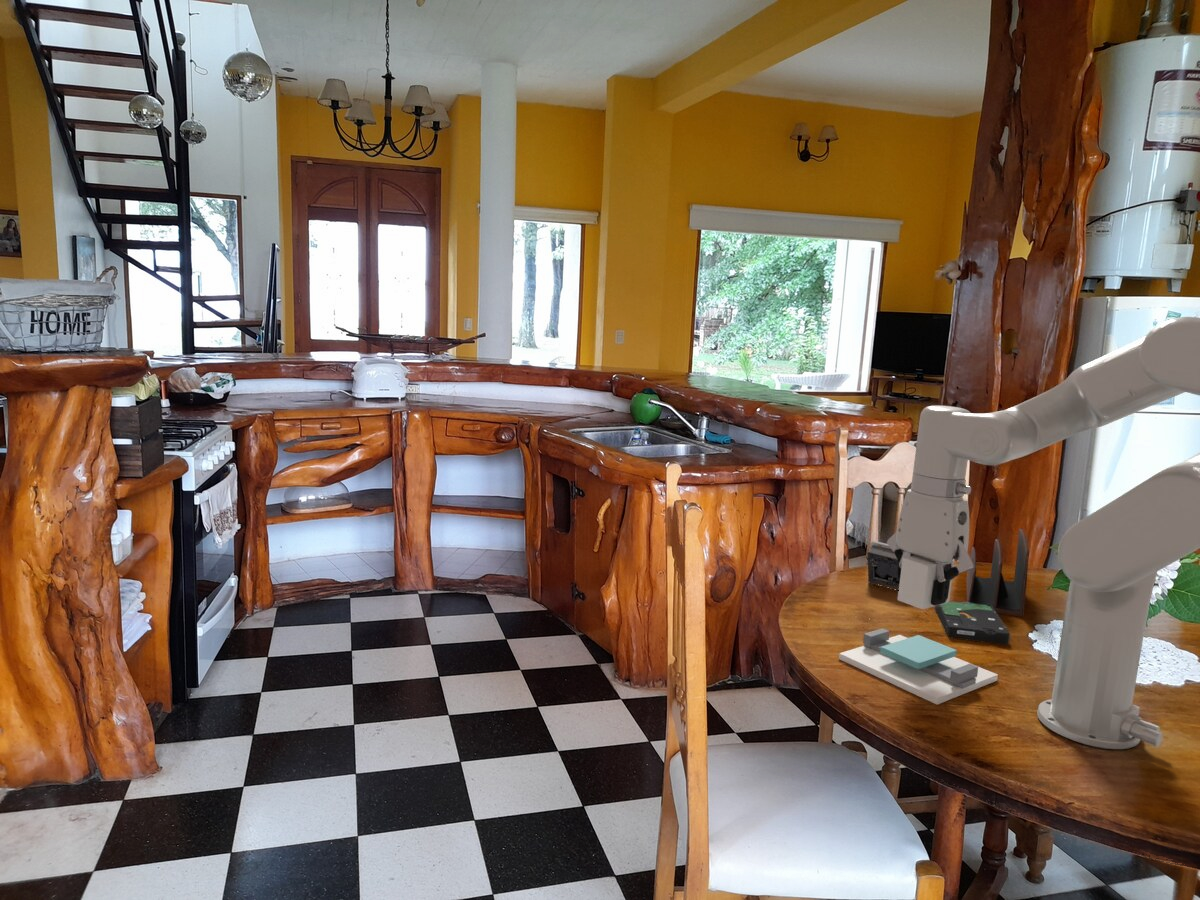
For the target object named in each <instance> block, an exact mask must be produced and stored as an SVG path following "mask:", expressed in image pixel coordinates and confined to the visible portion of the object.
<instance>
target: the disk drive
mask: <svg viewBox="0 0 1200 900" xmlns="http://www.w3.org/2000/svg"><path fill="white" fill-rule="evenodd" d="M934 609H935V613H936V615H937V614H938V615H937V617H938V616H939V617H938V618H939V621H940V623H942V624H941V626H942V625H943V626H942V627H944V628H943V630H944V629H945V630H944V632H946V633H945V635H946V634H947V635H946V636H948V637H947V638H949V637H953V638H952V639H958V638H961V639H960V640H965V639H968V640H967V641H973V640H975V642H981V641H983V642H982V643H989V642H990V643H991V644H999V645H1007V646H1009V644H1010V637H1011V633H1010V631H1009V629H1008V628H1007V626H1006V624H1005V623H1004V622H1003V621H1002V619H1001V617H1000V616H999V613H996V611H995V609H994V608H993V606H992V605H987V604H979V603H970V602H967V601H952V600H949V602H948V603H944V604H941V605H937V606H934Z"/></svg>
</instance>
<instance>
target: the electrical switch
mask: <svg viewBox="0 0 1200 900" xmlns="http://www.w3.org/2000/svg"><path fill="white" fill-rule="evenodd" d="M866 553H867V576H868V577H867V578H868V579H867V580H868V582H867V583H868V584H870V583H871V585H874V584H877V585H878V584H879V585H882V586H884V587H883V588H885V587H889V588H892V589H896V590H899V584H900V576H901V568H900V566H899V563H900V562H899V561H898V559H897V557H896V556H895V553H894V551H893V550H892V549H891V548H890V546H889V545H888V543H887V542H886V543H884V542H880V541H876V540H873V541H871V542H870V543H869V550H867V552H866ZM887 583H888V584H887ZM877 585H876V586H877ZM892 589H891V590H892ZM896 590H895V591H896Z"/></svg>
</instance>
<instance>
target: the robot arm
mask: <svg viewBox="0 0 1200 900" xmlns="http://www.w3.org/2000/svg"><path fill="white" fill-rule="evenodd" d="M1184 393H1189V394H1192V395H1196V396H1199V397H1200V317H1195V316H1182V317H1175V318H1171V319H1168V320H1166V321H1163V322H1162V323H1160V324H1158V325H1157V326H1155V327H1154V328H1152V329H1151V330H1150V331H1149V332H1148V333H1147V334H1146V336H1143V337H1141V338H1139V339H1137V340H1135V341H1133V342H1132V343H1131V342H1130V343H1129V344H1126V345H1125V346H1123V347H1121V348H1118V349H1116V350H1114V351H1111V352H1109V353H1107V354H1104V355H1103V356H1101V357H1098V358H1096V359H1093V360H1092V361H1089V362H1087V363H1085V364H1082V365H1081V366H1079V367H1077V368H1076V369H1074V370H1073V371H1072V372H1071V373H1070V374H1069V375H1068V377H1066V378H1065V380H1063V381H1062V382H1060V383H1059V384H1057V385H1056V386H1054V387H1052V388H1050V389H1049V390H1046V391H1045V392H1042V393H1041V394H1038V395H1036V396H1034V397H1032V398H1030V399H1027V400H1025V401H1023V402H1021V403H1019V404H1017V405H1014V406H1011V407H1009V408H1007V409H1003V410H999V411H993V412H987V413H972V412H971V411H969V410H968V409H965V408H961V407H959V406H958V407H957V406H950V405H930V406H929V405H928V406H926V407H924V408H923V409H922V410H921V412H920V416H919V421H918V422H919V423H918V430H917V438H916V446H915V455H914V462H913V470H912V471H913V472H912V478H911V483H910V484H911V487H910V488H909V489H907V491H906V494H905V496H904V499H903V502H902V505H901V509H900V513H899V517H898V523H897V527H896V531H895V532H894V534H892V536H890V537H889V538H888V539H887V541H886V544H888V545H889V546H890V548H891V549H892V550H893V551H894V553H895V556H896V557H897V559H898V561H899V562H900V563H899V566H900V568H902V560H903V558H904V557H908V556H913V555H918V556H921V557H924V558H927V559H930V560H933V561H935V562H936V571H937V580H934V583H933V590H932V598H931V604H932V605H934V606H933V607H935V606H936V605H939V604H943V603H945V602H946V600H947V598H948V593H949V586H950V580H952V581H953V580H954V579H955V578H956V577H958V576H959V575H961V574H962V573H965V572H968V570H970V569H972V568H973V563H972V561H971V559H970V555H969V553H968V551H969V549H968V548H969V540H970V509H969V507H970V506H969V500H968V499H967V498H964V495H971V492H972V487H971V486H970V485H967V484H966V478H967V477H966V475H967V469H968V461H971V462H974V463H977V464H981V465H984V466H985V465H986V466H997V465H1003V464H1005V463H1007V462H1011V461H1012V460H1017V459H1019V458H1022V457H1026V456H1028V455H1030V454H1032V453H1035V452H1037V451H1039V450H1042V449H1044V448H1046V447H1049V446H1051V445H1054V444H1057V443H1059V442H1061V441H1064V440H1066V439H1069V438H1072V437H1073V436H1077V435H1078V434H1080V433H1083V432H1086V431H1089V430H1091V429H1096V428H1101V427H1104V426H1106V425H1109V424H1112V423H1114V422H1115V421H1119V420H1121V419H1123V418H1126V417H1128V416H1130V415H1133V414H1136V413H1138V412H1140V411H1142V410H1145V409H1147V408H1149V407H1152V406H1154V405H1157V404H1160V403H1162V402H1164V401H1166V400H1170V399H1172V398H1174V397H1177V396H1179V395H1182V394H1184ZM1198 550H1200V452H1198V453H1197V454H1195V455H1193V456H1192V457H1190V458H1189V457H1188V459H1186V460H1184V461H1182V462H1178V463H1177V464H1173V465H1172V466H1169V467H1166V468H1164V469H1163V470H1160V471H1159V472H1157V473H1155V474H1154V475H1152V476H1150V477H1149V478H1148V479H1146V480H1144V481H1143V482H1141V483H1139V484H1138V485H1136V486H1135V487H1133V488H1131V489H1130V490H1128V491H1126V492H1125V493H1124V494H1122V495H1120V496H1118V497H1117V498H1115V499H1114V500H1112V501H1110V502H1108V503H1107V504H1105V505H1104V506H1103V507H1101V508H1099V509H1097V510H1096V511H1093V512H1092V513H1090V514H1089V515H1086V516H1085V517H1083V518H1082V519H1081V520H1079V521H1077V522H1076V523H1074V524H1073V525H1071V526H1070V527H1069V528H1067V530H1066V531H1065V532H1064V534H1063V535H1062V537H1061V539H1060V541H1059V544H1058V549H1057V558H1058V563H1059V565H1060V568H1061V570H1062V572H1063V574H1064V575H1065V576H1066V577H1067V578H1068V580H1070V583H1069V587H1068V593H1067V597H1066V602H1065V603H1066V604H1065V609H1064V614H1063V622H1062V627H1061V634H1060V635H1061V636H1060V642H1059V647H1058V656H1057V662H1056V668H1055V675H1054V681H1053V689H1052V695H1051V698H1050V699H1046V700H1044V701H1042V702H1040V703H1039V705H1038V706H1037V712H1036V715H1037V718H1038V719H1039V721H1040V722H1041V723H1042V724H1043V725H1044V726H1045V727H1047V728H1048V729H1049V730H1051V731H1052V732H1054V733H1056V734H1057V735H1060V736H1061V737H1064V738H1066V739H1069V740H1070V741H1074V742H1077V743H1080V744H1083V745H1085V746H1090V747H1094V748H1099V749H1105V750H1107V749H1108V750H1109V749H1110V750H1125V749H1130V748H1133V747H1136V746H1137V745H1138V744H1140V742H1141V741H1142V742H1144V743H1146V744H1149V745H1151V746H1154V747H1156V748H1158V747H1160V746H1161V744H1162V742H1163V739H1164V737H1163V735H1164V734H1163V733H1162V732H1161V727H1160V726H1159V725H1157V724H1155V723H1152V722H1149V721H1145V720H1143V719H1142V717H1141V716H1139V714H1140V710H1141V709H1140V708H1141V707H1140V706H1138V705H1136V704H1134V703H1133V702H1134V701H1133V700H1134V695H1135V688H1136V684H1137V678H1138V677H1137V676H1138V671H1139V665H1140V659H1141V655H1142V654H1141V653H1142V647H1143V642H1144V635H1145V632H1146V626H1147V621H1148V617H1149V616H1148V615H1149V609H1150V604H1151V600H1152V596H1153V590H1154V586H1155V581H1156V578H1157V574H1158V571H1161V570H1162V569H1165V568H1166V567H1168V566H1170V565H1172V564H1173V563H1175V562H1177V561H1179V560H1181V559H1183V558H1185V557H1186V556H1188V555H1190V554H1192V553H1194V552H1195V551H1198ZM953 560H955V561H958V564H956V565H954V566H953Z"/></svg>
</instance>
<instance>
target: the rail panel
mask: <svg viewBox="0 0 1200 900" xmlns="http://www.w3.org/2000/svg"><path fill="white" fill-rule="evenodd" d="M890 634H891V633H890V630H887V629H886V628H882V627H881V628H878V629H876V630H873V631H869V632H865V633H863V639H862V643H863V645H862V646H859V647H855V648H851V649H849V650H845V651H843V652H839V653H838V654H839V655H838V656H839V657H838V660H840V661H842V662H845V663H846V664H848V665H851V666H853V667H855V668H857V669H859V670H862V671H864V672H865V673H869V675H872V676H874V677H877V678H878V679H881V680H882V681H886V682H887V683H890V684H892V685H894V686H896V687H898V688H900V689H903V690H905V691H906V692H909V693H911V694H914V695H915V696H917V697H920V698H922V699H924V700H926V701H929V702H930V703H933V704H935V705H941V704H942V703H945V702H947V701H950V700H952V699H954V698H957V697H959V696H963V695H964V694H967V693H969V692H972V691H974V690H977V689H980V688H981V687H984V686H987V685H989V684H992V683H994V682H997V681H998V677H999V676H998V675H999V674H997V673H996V672H993V671H990V670H988V669H985V668H982V667H980V666H979V665H975V664H973V663H970V662H968V661H965V660H963V659H960V658H958V657H957V656H955V657H952V658H949V659H946V660H944V661H941V662H938V663H935V664H932V665H929V666H927V667H924V668H921V669H916V668H914V667H912V666H910V665H907V664H905V663H903V662H900V661H898V660H896V659H893V658H891V657H889V656H887V655H884V654H882V653H880V649H881V647H882V646H885V645H888V644H891V643H894V642H898V641H901V640H904V639H907V638H908V637H906V636H904V635H902V634H898V635H894V636H891V637H890Z"/></svg>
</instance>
